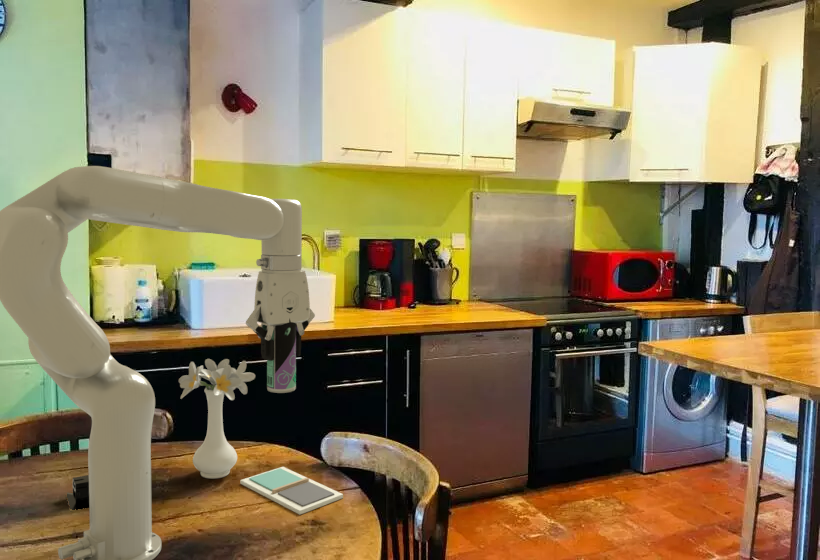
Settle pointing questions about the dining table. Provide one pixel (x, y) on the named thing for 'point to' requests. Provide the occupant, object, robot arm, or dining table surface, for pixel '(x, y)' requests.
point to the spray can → (283, 358)
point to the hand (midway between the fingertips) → (281, 356)
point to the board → (291, 490)
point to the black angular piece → (79, 493)
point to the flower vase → (216, 413)
